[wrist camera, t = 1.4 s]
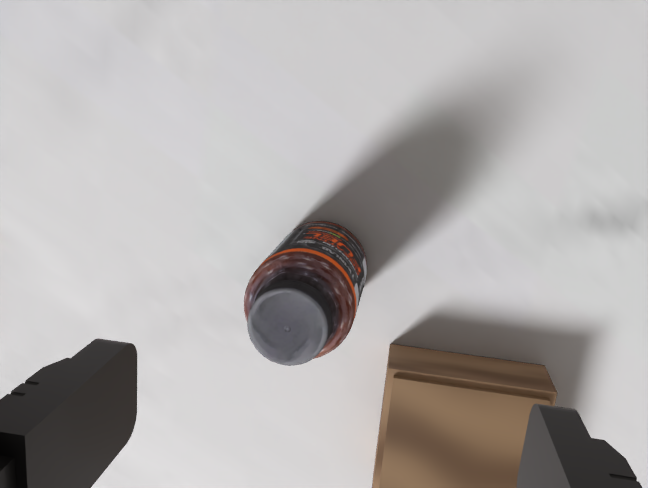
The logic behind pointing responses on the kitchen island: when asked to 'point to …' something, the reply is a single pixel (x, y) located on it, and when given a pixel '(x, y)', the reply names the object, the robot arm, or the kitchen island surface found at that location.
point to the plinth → (455, 419)
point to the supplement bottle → (306, 293)
